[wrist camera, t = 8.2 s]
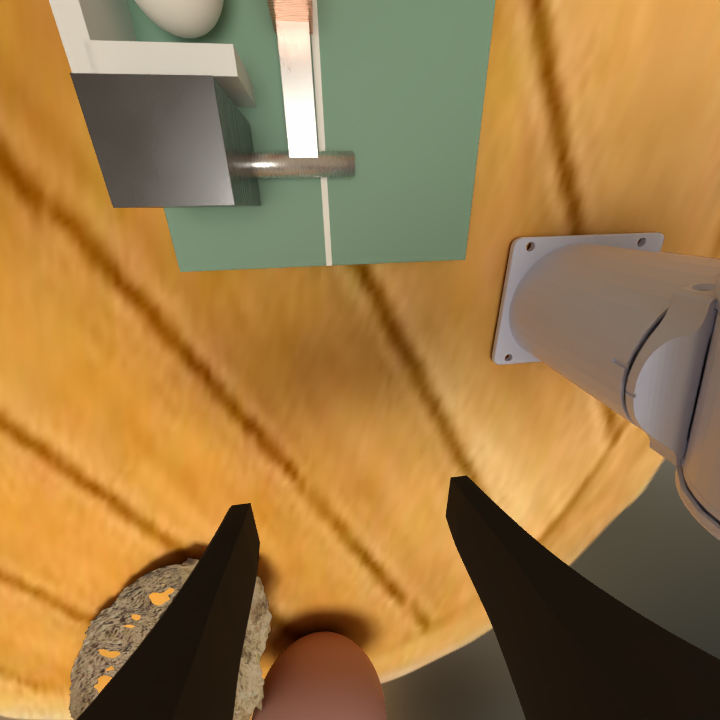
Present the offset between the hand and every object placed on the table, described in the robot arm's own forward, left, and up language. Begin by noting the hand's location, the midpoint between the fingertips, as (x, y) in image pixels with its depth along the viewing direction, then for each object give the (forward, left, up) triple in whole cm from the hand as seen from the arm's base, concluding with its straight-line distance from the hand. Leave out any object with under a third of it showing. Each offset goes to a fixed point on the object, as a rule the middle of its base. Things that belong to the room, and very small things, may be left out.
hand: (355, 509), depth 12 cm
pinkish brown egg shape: (+4, +32, -11) cm, 34 cm away
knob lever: (+3, -14, -9) cm, 17 cm away
